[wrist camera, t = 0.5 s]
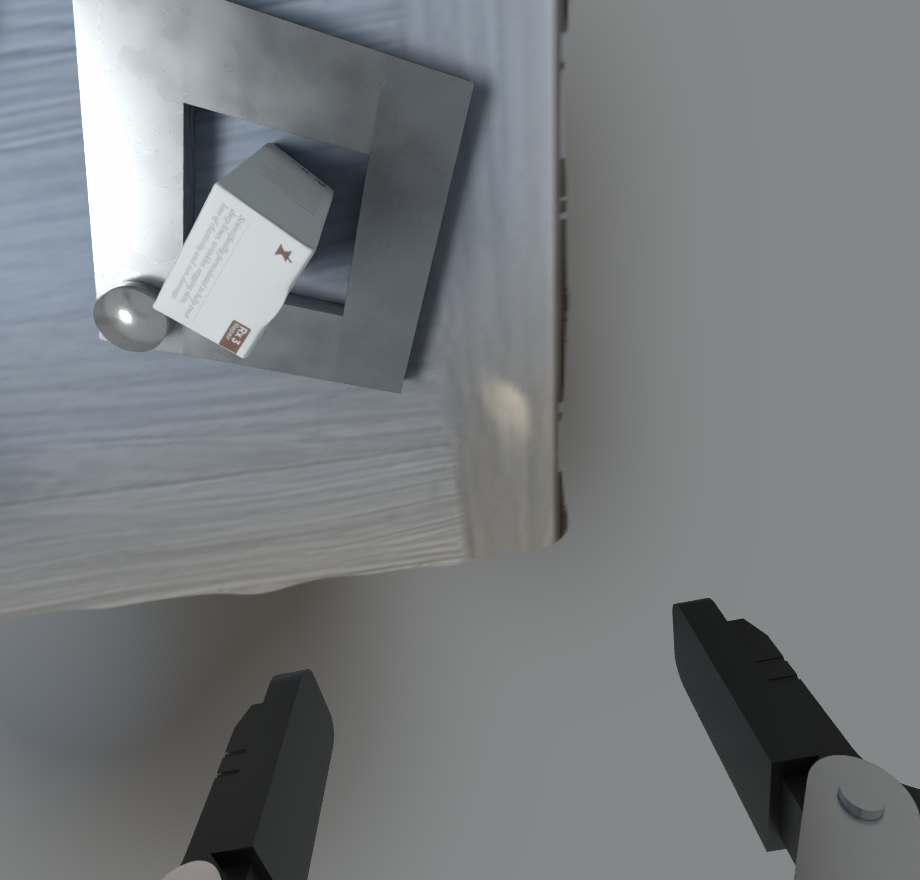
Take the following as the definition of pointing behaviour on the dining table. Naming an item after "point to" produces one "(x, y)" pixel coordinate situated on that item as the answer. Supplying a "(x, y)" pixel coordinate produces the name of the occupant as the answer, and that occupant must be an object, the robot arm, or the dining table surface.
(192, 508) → the dining table surface
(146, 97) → the socket block
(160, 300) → the skincare box
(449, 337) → the dining table surface
